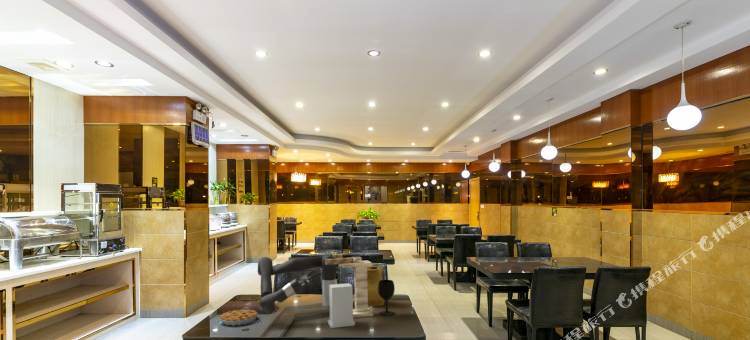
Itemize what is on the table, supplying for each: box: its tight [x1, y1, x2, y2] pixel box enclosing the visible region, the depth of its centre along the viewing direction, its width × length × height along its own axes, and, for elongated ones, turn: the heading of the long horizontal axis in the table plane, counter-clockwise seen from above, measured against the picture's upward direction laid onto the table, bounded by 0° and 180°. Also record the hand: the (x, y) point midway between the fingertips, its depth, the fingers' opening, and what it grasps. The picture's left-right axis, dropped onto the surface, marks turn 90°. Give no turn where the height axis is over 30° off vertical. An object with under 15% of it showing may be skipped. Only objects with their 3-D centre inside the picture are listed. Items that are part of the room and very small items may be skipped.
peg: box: [325, 256, 363, 265], centre depth 256 cm, size 22×6×3 cm, turn 107°
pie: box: [219, 308, 259, 327], centre depth 249 cm, size 22×22×5 cm
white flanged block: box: [327, 282, 356, 329], centre depth 239 cm, size 10×14×22 cm
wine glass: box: [378, 279, 396, 317], centre depth 258 cm, size 10×10×20 cm
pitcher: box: [367, 265, 385, 307], centre depth 282 cm, size 17×19×25 cm
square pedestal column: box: [339, 259, 374, 319], centre depth 258 cm, size 12×18×32 cm, turn 107°
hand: (315, 272), depth 251 cm, fingers open, 8 cm apart
